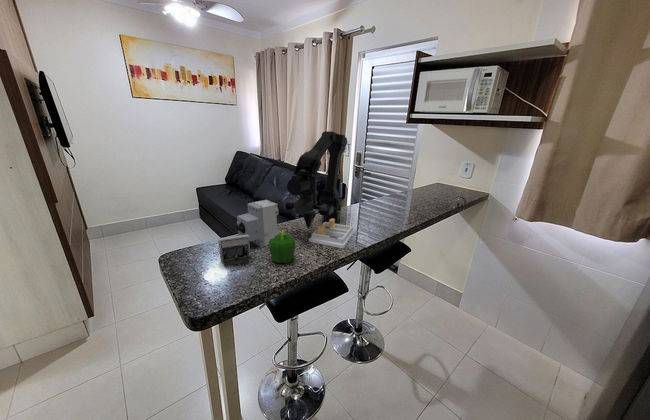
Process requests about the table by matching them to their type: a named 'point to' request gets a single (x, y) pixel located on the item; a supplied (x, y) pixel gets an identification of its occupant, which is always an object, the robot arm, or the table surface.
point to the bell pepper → (282, 248)
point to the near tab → (321, 229)
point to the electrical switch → (234, 249)
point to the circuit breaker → (259, 222)
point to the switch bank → (333, 235)
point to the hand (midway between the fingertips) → (308, 227)
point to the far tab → (332, 223)
